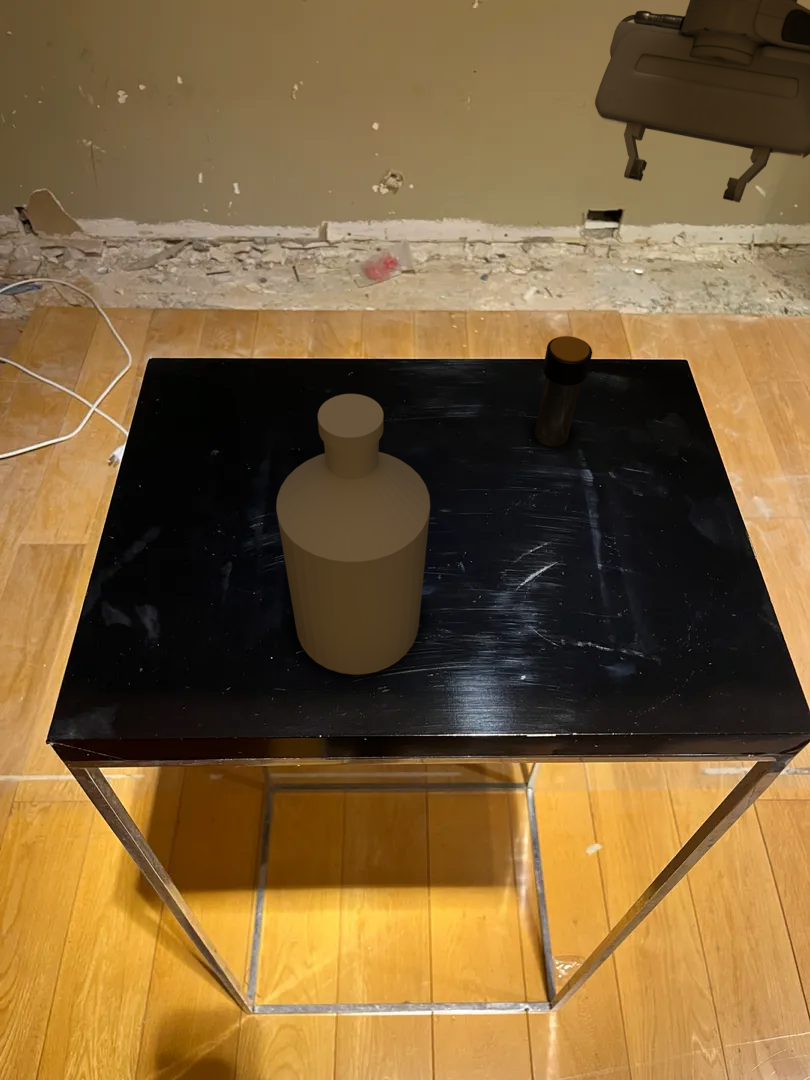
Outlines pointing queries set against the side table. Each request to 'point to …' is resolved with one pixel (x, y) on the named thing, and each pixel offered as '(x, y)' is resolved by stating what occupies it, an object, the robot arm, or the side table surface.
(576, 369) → the torch
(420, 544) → the bottle
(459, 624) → the side table surface
